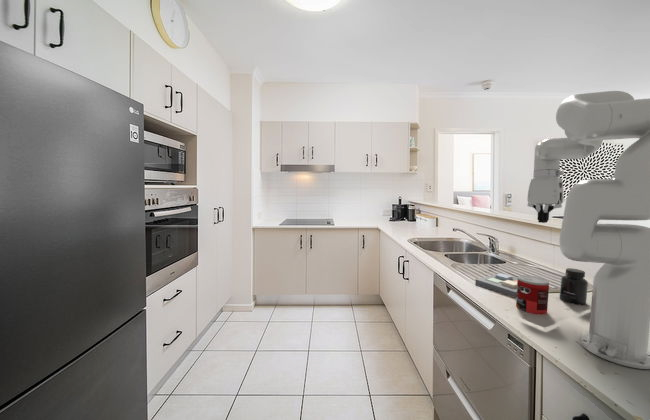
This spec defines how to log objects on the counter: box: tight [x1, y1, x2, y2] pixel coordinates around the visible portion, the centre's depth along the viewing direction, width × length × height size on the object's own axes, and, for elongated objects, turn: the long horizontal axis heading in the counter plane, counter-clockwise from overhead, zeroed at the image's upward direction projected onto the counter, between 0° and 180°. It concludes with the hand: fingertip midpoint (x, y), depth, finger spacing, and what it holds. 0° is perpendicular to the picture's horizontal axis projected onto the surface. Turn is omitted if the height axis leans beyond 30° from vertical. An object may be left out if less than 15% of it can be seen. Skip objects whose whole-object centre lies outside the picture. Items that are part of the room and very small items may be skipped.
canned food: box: [515, 274, 550, 316], centre depth 85 cm, size 8×8×11 cm
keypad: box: [475, 272, 518, 298], centre depth 105 cm, size 17×15×3 cm
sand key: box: [502, 280, 517, 289], centre depth 101 cm, size 4×4×2 cm
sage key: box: [486, 278, 502, 284], centre depth 106 cm, size 4×4×2 cm
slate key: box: [495, 272, 514, 281], centre depth 109 cm, size 4×4×2 cm
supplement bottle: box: [558, 267, 589, 306], centre depth 91 cm, size 7×7×12 cm
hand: (542, 222), depth 102 cm, fingers closed
